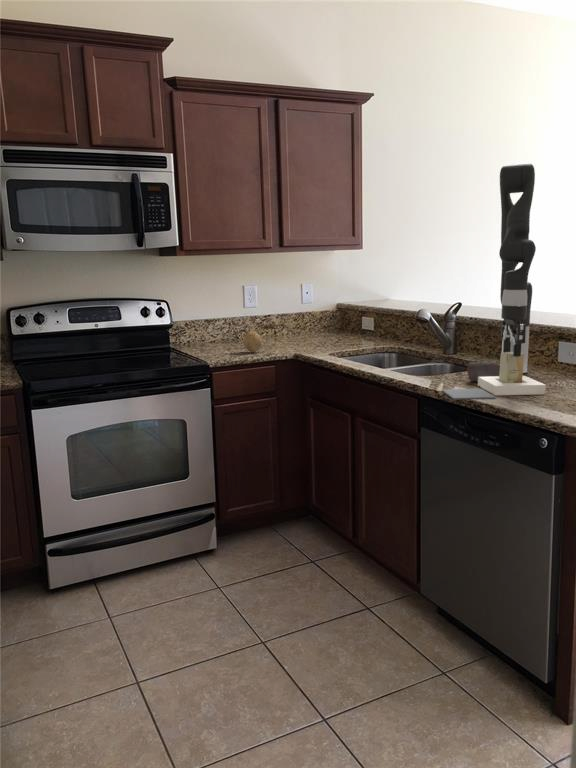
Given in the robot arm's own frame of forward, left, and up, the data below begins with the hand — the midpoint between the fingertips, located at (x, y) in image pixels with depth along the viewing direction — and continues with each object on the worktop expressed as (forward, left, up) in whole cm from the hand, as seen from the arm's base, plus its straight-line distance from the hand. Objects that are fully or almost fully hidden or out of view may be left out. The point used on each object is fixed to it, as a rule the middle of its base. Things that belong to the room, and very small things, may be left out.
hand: (511, 354), depth 210 cm
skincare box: (0, 0, -12) cm, 12 cm away
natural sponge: (-96, -84, -12) cm, 128 cm away
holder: (0, 0, -12) cm, 12 cm away
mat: (+6, -16, -12) cm, 20 cm away
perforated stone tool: (-16, -3, -12) cm, 20 cm away
